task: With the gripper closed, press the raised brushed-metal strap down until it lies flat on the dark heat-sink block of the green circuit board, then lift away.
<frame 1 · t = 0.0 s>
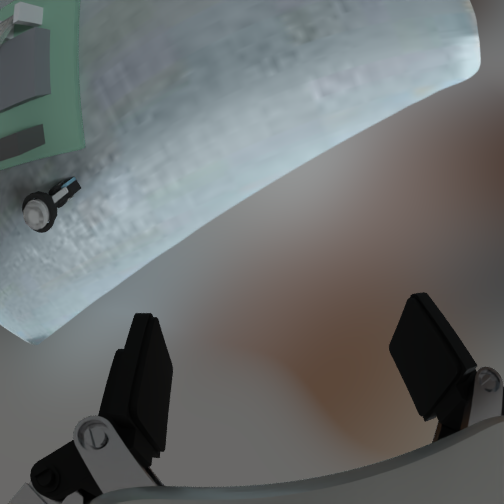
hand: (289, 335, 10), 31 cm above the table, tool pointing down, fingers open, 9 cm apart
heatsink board: (29, 71, 26), on the table
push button: (65, 190, 37), on the table
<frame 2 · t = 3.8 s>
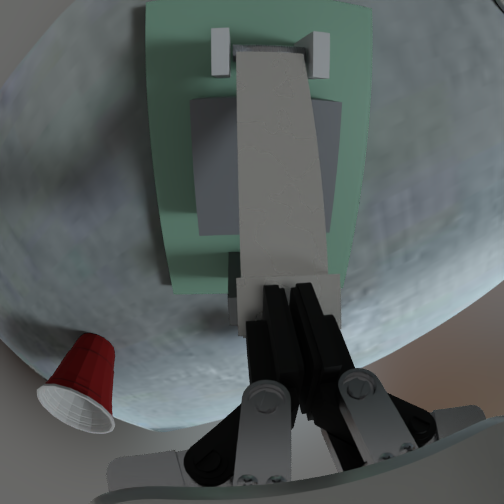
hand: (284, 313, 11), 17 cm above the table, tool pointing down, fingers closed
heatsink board: (260, 152, 24), on the table
plastic cup: (97, 344, 37), on the table
retention strap: (279, 158, 14), point 11 cm above the table, hinge at 37.3°, touching gripper
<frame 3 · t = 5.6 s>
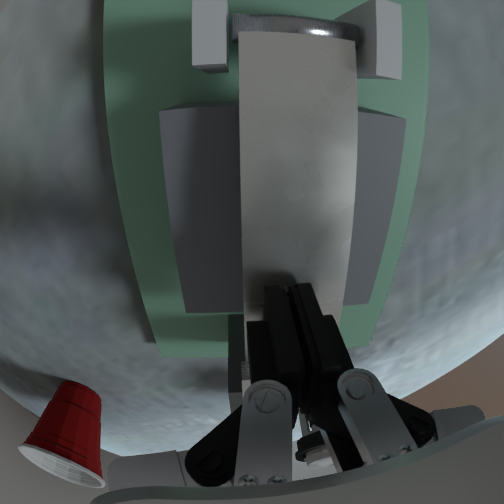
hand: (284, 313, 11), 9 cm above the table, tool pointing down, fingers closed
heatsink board: (272, 182, 17), on the table
plastic cup: (81, 391, 30), on the table
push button: (302, 374, 28), on the table
retention strap: (298, 240, 10), point 8 cm above the table, hinge at 10.0°, touching gripper
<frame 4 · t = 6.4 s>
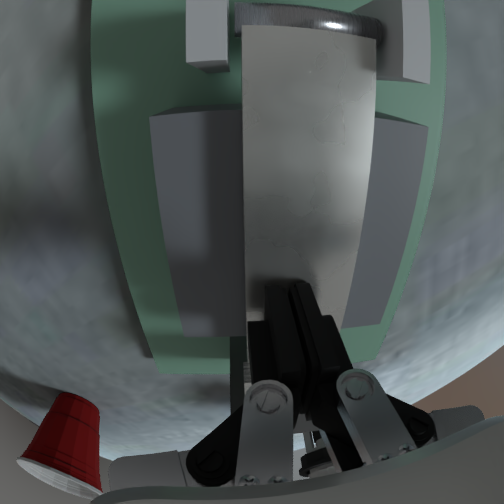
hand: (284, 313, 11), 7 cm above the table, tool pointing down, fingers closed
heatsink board: (277, 193, 16), on the table
plastic cup: (79, 402, 28), on the table
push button: (306, 387, 27), on the table
retention strap: (303, 255, 10), point 7 cm above the table, hinge at 2.1°, touching gripper
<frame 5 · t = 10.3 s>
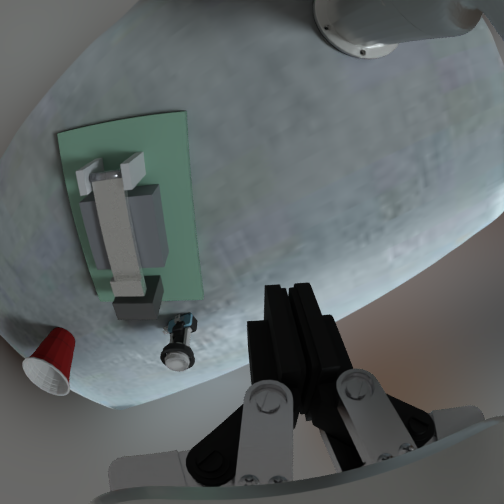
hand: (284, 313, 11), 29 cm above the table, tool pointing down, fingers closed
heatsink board: (132, 217, 39), on the table
plastic cup: (64, 335, 51), on the table
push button: (179, 320, 50), on the table
retention strap: (117, 238, 33), point 7 cm above the table, hinge at 1.9°
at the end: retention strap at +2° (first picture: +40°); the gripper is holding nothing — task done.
